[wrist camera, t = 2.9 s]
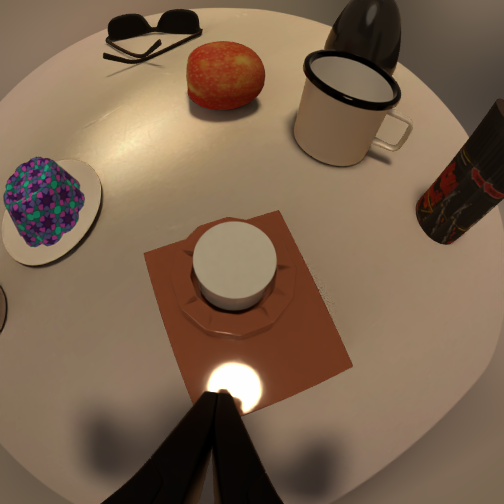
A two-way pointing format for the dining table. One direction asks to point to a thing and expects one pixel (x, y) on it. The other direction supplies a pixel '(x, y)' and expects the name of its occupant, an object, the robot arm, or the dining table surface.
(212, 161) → the dining table surface
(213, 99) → the apple
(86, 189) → the pudding
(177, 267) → the button housing
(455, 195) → the deodorant
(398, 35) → the pump dispenser
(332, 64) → the mug
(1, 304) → the pill bottle
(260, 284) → the white cylinder
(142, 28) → the sunglasses
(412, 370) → the dining table surface
